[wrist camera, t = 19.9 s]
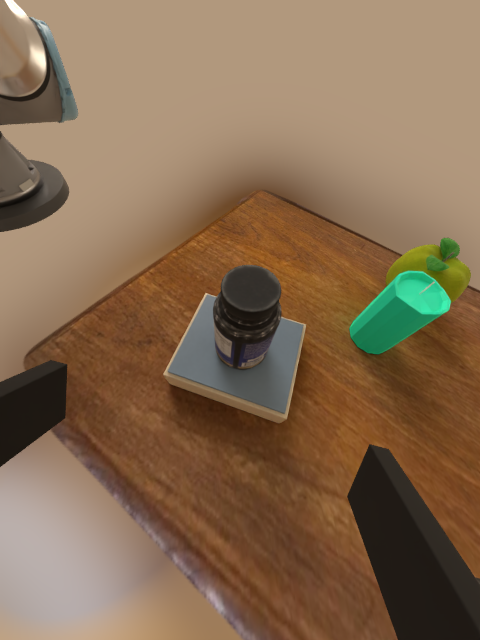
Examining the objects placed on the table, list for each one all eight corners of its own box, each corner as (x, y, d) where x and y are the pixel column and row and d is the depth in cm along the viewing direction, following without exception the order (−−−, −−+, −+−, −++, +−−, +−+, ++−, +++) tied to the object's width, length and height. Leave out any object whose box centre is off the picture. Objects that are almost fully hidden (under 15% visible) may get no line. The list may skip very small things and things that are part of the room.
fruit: (362, 295, 38) (404, 247, 29) (391, 269, 41) (436, 220, 33) (413, 334, 35) (476, 293, 26) (440, 303, 38) (503, 258, 30)
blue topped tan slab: (168, 383, 28) (161, 373, 25) (206, 307, 34) (205, 291, 31) (279, 423, 27) (288, 418, 23) (298, 337, 33) (307, 323, 29)
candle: (351, 312, 36) (404, 254, 26) (390, 326, 35) (461, 271, 25) (346, 345, 33) (404, 293, 22) (389, 360, 32) (469, 314, 22)
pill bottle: (269, 329, 29) (293, 265, 19) (263, 376, 25) (289, 327, 16) (220, 319, 29) (221, 252, 19) (209, 366, 26) (202, 311, 16)
